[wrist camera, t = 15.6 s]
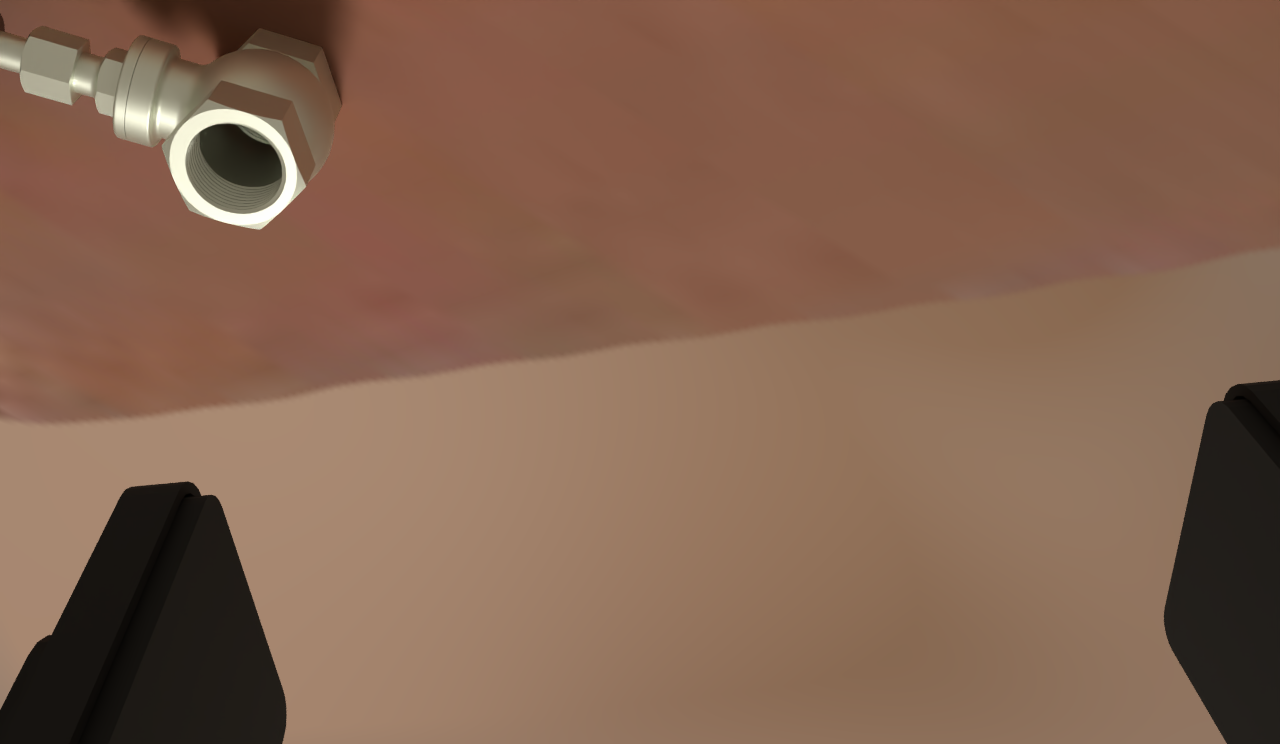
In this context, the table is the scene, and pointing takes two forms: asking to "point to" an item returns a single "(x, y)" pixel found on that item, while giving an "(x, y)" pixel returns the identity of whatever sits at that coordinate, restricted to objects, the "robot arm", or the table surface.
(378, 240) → the table surface
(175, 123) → the valve
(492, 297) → the table surface
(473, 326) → the table surface
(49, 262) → the table surface
